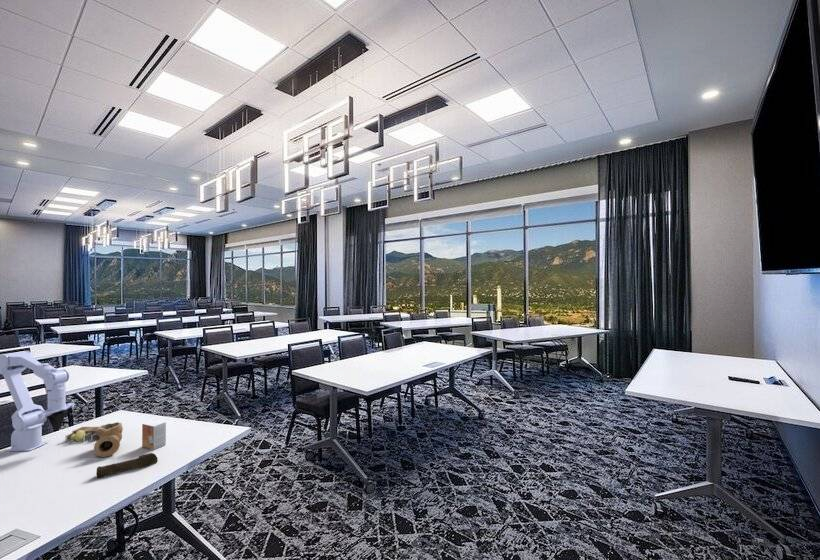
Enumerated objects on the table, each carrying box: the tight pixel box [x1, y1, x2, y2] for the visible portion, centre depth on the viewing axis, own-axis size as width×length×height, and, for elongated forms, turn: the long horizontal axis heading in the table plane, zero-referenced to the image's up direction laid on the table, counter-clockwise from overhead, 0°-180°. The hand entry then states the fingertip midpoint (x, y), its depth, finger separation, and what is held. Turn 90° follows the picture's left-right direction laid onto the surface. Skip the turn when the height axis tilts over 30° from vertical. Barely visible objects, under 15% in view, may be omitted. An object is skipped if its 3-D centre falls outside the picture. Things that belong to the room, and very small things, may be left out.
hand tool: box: [96, 452, 158, 479], centre depth 142 cm, size 19×4×5 cm, turn 122°
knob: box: [70, 430, 86, 442], centre depth 168 cm, size 5×5×5 cm
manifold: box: [64, 426, 100, 443], centre depth 171 cm, size 18×9×4 cm, turn 90°
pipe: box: [93, 421, 124, 458], centre depth 159 cm, size 9×16×10 cm, turn 34°
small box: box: [141, 419, 167, 451], centre depth 162 cm, size 8×6×10 cm
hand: (56, 428), depth 159 cm, fingers closed
